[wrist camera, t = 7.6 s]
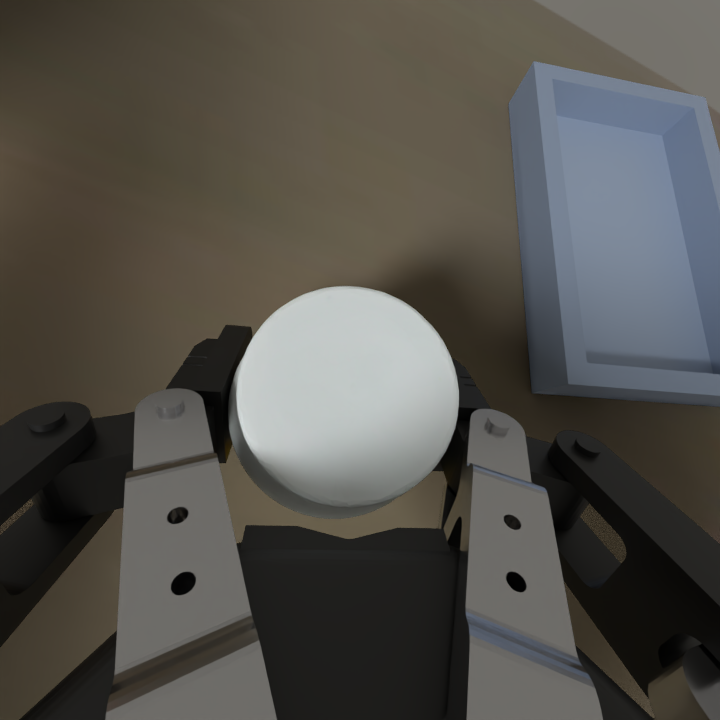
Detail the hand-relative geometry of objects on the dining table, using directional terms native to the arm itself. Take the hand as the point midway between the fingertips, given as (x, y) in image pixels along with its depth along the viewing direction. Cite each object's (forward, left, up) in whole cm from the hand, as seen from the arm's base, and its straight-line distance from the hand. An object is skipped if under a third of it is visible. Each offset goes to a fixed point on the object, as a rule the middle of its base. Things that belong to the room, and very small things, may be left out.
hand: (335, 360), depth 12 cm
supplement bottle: (-2, -1, -4) cm, 5 cm away
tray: (+15, -9, -4) cm, 18 cm away
